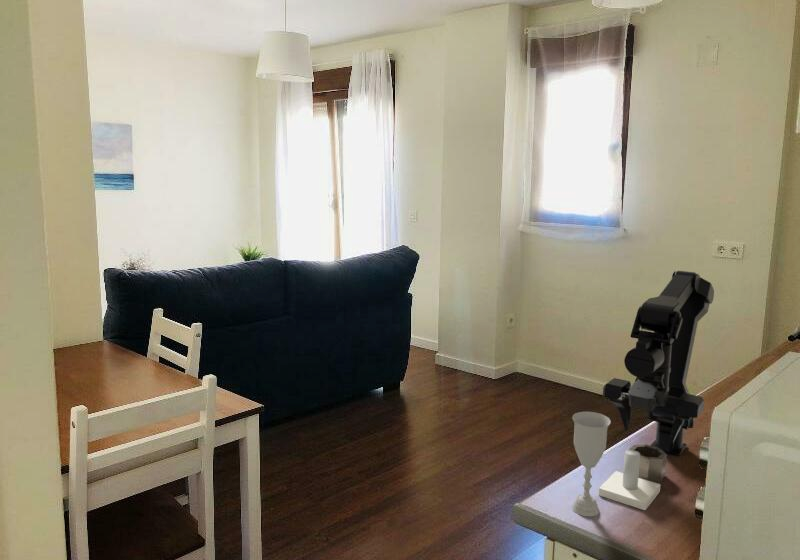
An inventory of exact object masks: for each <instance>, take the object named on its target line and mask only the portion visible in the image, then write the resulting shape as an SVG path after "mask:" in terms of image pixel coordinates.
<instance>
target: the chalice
mask: <svg viewBox="0 0 800 560" xmlns="http://www.w3.org/2000/svg"><path fill="white" fill-rule="evenodd" d="M571 419H572V421H573V423H574V426H573V427H574V430H573V447H574V449H575V453H576V455H577V457H578V460H579V462H580V464H581V466H583V467H584V468H585V472H584V474H583V478H584V482H583V483H582V487H583V490H584V491H583V493H582V494H579V495H577V497H576V499H575V500H574V501H573V504H572V506H571V509H572V508H573V509H572V511H573V510H574V511H575V512H574V511H573V512H574V513H576V514H577V513H578V514H577V515H579V514H580V516H582V517H583V516H584V517H596V516H598V515H599V514H600V509H599V505H598V504H597V500H596V498H595V497H594V496H592V494H590V489H591V488H592V487H593V485H592V484H591V479H592V478H593V475H592V472H591V470H592V468H596V466H597V465H598V463H599V462H600V460H601V459H602V457H603V455H604V452H605V451H606V449H607V438H608V428H609V427H610V424H611V419H610V418H609V417H608V416H606V415H605V414H602V413H598V412H594V411H580V412H579V411H578V412H575V413H574V414H573V415H572V417H571Z"/></svg>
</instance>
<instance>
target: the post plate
mask: <svg viewBox="0 0 800 560" xmlns="http://www.w3.org/2000/svg"><path fill="white" fill-rule="evenodd" d="M639 464H640V453H639V452H637V451H634V450H629V449H627V450H625V451H624V461H623V472H620V471H618V470H615V471H614V472H613V473H612V474H611V475H610V476H609V477H608V478H607V479H606V480H605V481H604V482H603V484H601V486H600V487H599V488H598V496H600V497H604V498H607V499H610V500H613V501H615V502H617V503H618V502H619V503H622V504H625V505H628V506H631V507H633V508H636V509H640V510H641V511H642V510H643V511H646V510H647V509H648V508H649V507H650V505H651V503H653V501H654V500H655V498H656V497H657V496H658V494H659V493H660V492H661V486H662V485H661V484H660V483H658V482H651V481H647V480H644V479H641V478H638V476H639Z"/></svg>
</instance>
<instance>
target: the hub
mask: <svg viewBox="0 0 800 560" xmlns="http://www.w3.org/2000/svg"><path fill="white" fill-rule="evenodd" d="M650 445H651V444H632V446H631V447H630V448H629V449H628V450H634V451H637V452H639V453H640V464H639V476H638V478H641V479H644V480H647V481H651V482H654V483H659V482H660V483H661V482H662V481H663V479H664V478H665V477H664V476H666V465H667V456H668V455H667V454H668V453H667V452H664V451H662V450H661V449H660V448H657V447H654V446H650ZM663 477H664V478H663ZM661 480H662V481H661Z"/></svg>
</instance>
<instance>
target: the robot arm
mask: <svg viewBox="0 0 800 560" xmlns="http://www.w3.org/2000/svg"><path fill="white" fill-rule="evenodd" d="M671 275H672V276H671V279H670V281H669V282H668V284H666V286H665V287H664V289H663V290H662V291H661V293H660V294H659V295H658V296H655V297H649V298H648V299H647V300H644V302H643V303H642V304H641V306H639V307H638V309H637V312H636V315H635V318H634V322H633V326H632V330H631V333H630V338H632V339H637V341H636V343H635V347H633V348H631V349H630V350H629V351H627V353H626V354H625V356H624V358H623V359H624V360H623V361H624V366H625V367H624V368H625V369H626V370H627V372H628V373H629V374H631V375H632V376H634V377H636V378H635V380H634V381H633V383H632V384H631V381H630V380H625V379H621V378H616V377H614V378H612V379H610V380H609V381H608V382H607V383H605V384H604V386H603V389H602V397H603V398H607V399H608V401H609V402H610V403H613V405H615V406H616V408H617V410H618V412H619V415H620V418H621V421H622V425H623V429H624V431H626V432H628V431H629V430H630V425H631V411H632V410H631V408H634V409H640V410H644V411H646V412H648V421H650V422H656V429H655V430H656V432H655V439H654V441H653V442H652V443H651V444H649V445H650V446H654V447H657V448H660V449H661V450H662V451H664V452H665V453H666V454H671V455H675V456H678V457H679V456H681V455H682V453H683V452H684V451H685V449H686V448H687V447H688V444H687V443H685V442H684V433H685V432H684V431H685V430H687V431H688V430H689V429H693V428H694V426H695V419H696V418H697V419H698V418H699V416H700V415H701V414H702V412H703V411H704V410H705V400H704V398H703V396H700V395H695V394H692V393H690V392H689V389H688V386H687V378H688V373H689V369H690V364H691V363H690V362H691V358H692V354H693V349H694V342H695V337H696V335H697V333H696V332H697V328H698V324H699V321H701V319H702V318H703V317H704V316H705V315H707V314H708V312H709V308H710V305H712V304H713V302H714V297H715V289H714V287H713V284H712V283H711V282H709V281H708V280H706V279H704V278H702V277H701V276H700V274H699V273H696V272H695V271H685V270H675V271H673V273H672V274H671Z"/></svg>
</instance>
